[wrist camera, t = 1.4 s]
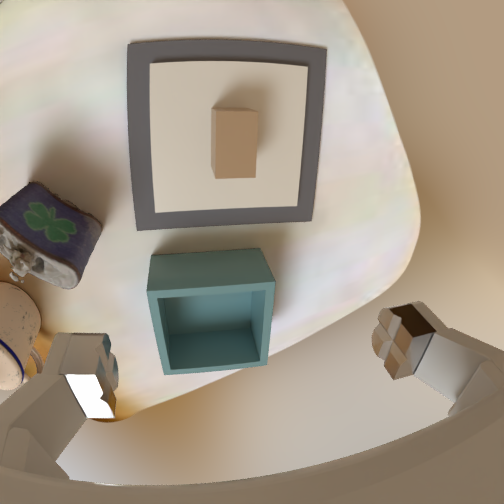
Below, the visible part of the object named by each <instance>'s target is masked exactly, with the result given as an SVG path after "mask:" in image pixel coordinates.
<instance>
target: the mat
mask: <svg viewBox="0 0 504 504" xmlns="http://www.w3.org/2000/svg"><path fill="white" fill-rule="evenodd" d="M326 51H327V49H320V48H314V47H307V46H299V45H291V44H282V43H272V42H259V41H242V40H175V41H158V42H146V43H136V44H128V47H127V111H128V136H129V153H130V168H131V180H132V191H133V201H134V210H135V219H136V227H137V231H142V230H157V229H172V228H187V227H204V226H221V225H240V224H261V223H283V222H308V221H311V220H312V212H313V203H314V195H315V186H316V177H317V167H318V157H319V147H320V136H321V125H322V112H323V99H324V85H325V69H326ZM186 61H239V62H260V63H275V64H286V65H296V66H305V67H308V73H307V90H306V105H305V119H304V133H303V145H302V158H301V169H300V180H299V191H298V201H297V206H284V207H254V208H230V209H210V210H191V211H175V212H160V213H155V203H154V190H153V176H152V158H151V135H150V64H151V63H165V62H186Z"/></svg>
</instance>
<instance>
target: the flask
mask: <svg viewBox="0 0 504 504" xmlns="http://www.w3.org/2000/svg"><path fill="white" fill-rule="evenodd" d="M101 232H102V226H101V224H100V222H99V221H98V220H97V219H96V218H95V217H93V216H92V215H91V214H90V213H88V214H86V213H84V212H83V211H81V210H80V209H79V208H77V206H76V205H74V204H73V203H71V202H69V201H65V200H61V199H60V198H59V197H58V194H57V195H56V194H53V193H51V192H50V190H49V188H46V187H45V186H44V185H42V184H41V183H40V182H32V183H31V182H29V184H28V185H27V186H25V187H24V188H22V189H21V190H20V191H19V192H17V193H16V194H15V195H13V196H12V197H11V198H10V199H9V200H8V201H6V202H5V203H3V204H2V205H1V206H0V253H1V254H2V255H3V256H5V257H6V258H7V259H8V260H9V261H10V263H11V264H12V266H13V268H12V267H11V269H12V270H13V271H14V272H15V273H17V274H18V275H19V276H21V277H24V276H25V274H27V273H30V274H32V275H34V276H36V277H37V278H39V279H41V280H44V281H46V282H49V283H51V284H53V285H55V286H58V287H61V288H63V289H73V288H75V287H76V286H77V285H78V283H79V282H80V280H81V278H82V275H83V272H84V269H85V266H86V265H87V263H88V260H89V257H90V255H91V253H92V252H93V250H94V247H95V245H96V243H97V241H98V239H99V237H100V235H101ZM10 277H11V278H12V279H13V280H14V281H19V280H18V277H17V276H15V275H14V274H13V273H12V272H11V273H10ZM21 282H22V283H24V280H21Z"/></svg>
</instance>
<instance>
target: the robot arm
mask: <svg viewBox="0 0 504 504" xmlns="http://www.w3.org/2000/svg"><path fill="white" fill-rule="evenodd" d="M1 2H2V0H0V3H1ZM378 320H379V322H380V323H379V325H378V326H377V327H376V328H375V329H374V332H373V335H372V346H373V349H374V351H375V353H376V355H377V356H378V357H379V358H381V359H383V360H385V362H384V367H385V368H386V370H387V371H388V373H389V374H390V376H391V377H392V379H393V380H396V379H399V378H403V377H406V376H410V375H413V374H414V376H415V377H416V378H418V379H419V380H421V381H422V382H424V383H425V384H427V385H428V386H430V387H431V388H433V389H434V390H436V391H437V392H439V393H440V394H442V395H443V396H445V397H447V398H448V399H450V400H451V401H453V402H454V405H453V406H452V407H451V409H450V410H449V412H448V416H449V417H447V418H445V419H443V420H441V421H439V422H437V423H435V424H432V425H430V426H428V427H426V428H424V429H421V430H419V431H417V432H414V433H412V434H409V435H407V436H405V437H402V438H399V439H397V440H394V441H392V442H389V443H386V444H384V445H381V446H378V447H375V448H372V449H369V450H366V451H363V452H360V453H357V454H354V455H350V456H348V457H344V458H340V459H337V460H333V461H330V462H326V463H322V464H319V465H314V466H310V467H306V468H301V469H297V470H292V471H287V472H282V473H277V474H272V475H266V476H260V477H254V478H247V479H240V480H232V481H223V482H213V483H201V484H184V485H122V484H106V483H94V482H85V481H76V480H69V476H68V475H67V474H66V473H65V471H64V470H63V469H62V468H61V467H60V466H59V465H58V464H57V463H56V462H55V461H56V460H57V458H58V457H59V455H60V454H61V453H62V452H63V450H64V449H65V447H66V446H67V445H68V443H69V442H70V441H71V439H72V438H73V437H74V435H75V434H76V433H77V432H78V430H79V429H80V428H81V426H82V425H83V424H84V422H85V421H86V420H87V418H115V407H116V397H115V395H114V392H113V391H114V390H115V389H116V388H117V387H118V366H117V361H116V358H115V355H113V354H112V353H111V352H110V348H111V342H110V339H109V336H108V335H107V334H106V333H57V334H56V335H55V337H54V340H53V342H52V345H51V348H50V350H49V353H48V356H47V359H46V361H45V364H44V367H43V370H42V373H41V374H38V373H37V374H36V375H34V376H33V377H32V378H31V379H30V380H29V381H27V382H26V383H25V384H24V385H23V386H22V387H20V388H19V389H18V390H17V391H16V392H14V393H13V394H12V395H11V396H10V397H9V398H8V399H7V400H5V401H4V402H3V403H2V404H1V405H0V504H504V351H502V350H500V349H498V348H496V347H493V346H491V345H489V344H486V343H484V342H482V341H480V340H478V339H475V338H473V337H471V336H469V335H466V334H464V333H462V332H459V331H457V330H455V329H453V328H449V329H448V328H447V327H446V326H445V325H444V324H443V322H442V321H441V320H440V319H438V317H437V316H436V315H435V314H434V313H433V312H432V311H431V310H430V309H429V308H428V307H427V306H426V305H425V304H424V303H423V302H420V301H417V302H412V303H408V304H403V305H398V306H393V307H387V308H383V309H382V310H381V311H380V313H379V316H378Z"/></svg>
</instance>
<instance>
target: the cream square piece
mask: <svg viewBox="0 0 504 504" xmlns="http://www.w3.org/2000/svg"><path fill="white" fill-rule="evenodd" d="M307 73H308V67H305V66H296V65H286V64H275V63H260V62H239V61H186V62H165V63H151V64H150V135H151V158H152V176H153V190H154V203H155V213H160V212H175V211H191V210H210V209H230V208H254V207H284V206H297V201H298V191H299V180H300V169H301V158H302V145H303V133H304V119H305V105H306V90H307Z"/></svg>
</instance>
